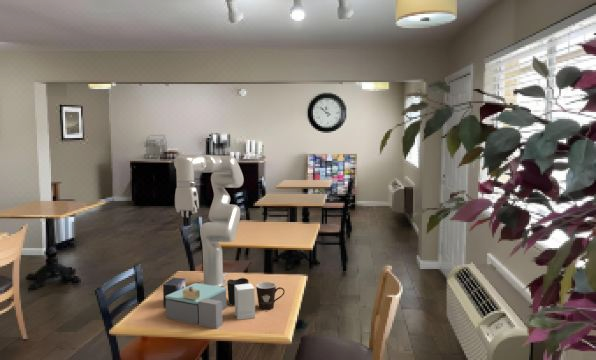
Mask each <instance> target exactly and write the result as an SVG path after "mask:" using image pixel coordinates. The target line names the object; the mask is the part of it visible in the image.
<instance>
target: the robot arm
mask: <svg viewBox="0 0 596 360" xmlns="http://www.w3.org/2000/svg"><path fill="white" fill-rule="evenodd" d="M173 165H174V168H175V169H176V172H175V173H176V188H175V194H174V207H175V211H176V212H177V213H179V214H180V215H181V218H182V222H183V223H182V224H183V227H190V226H191V225H192V220H191V218H192V217H193V215H194V214H197V213H198V210H199V208H200V204H199V203H200V201H199V194H198V189H197V187H195V186H196V185H197V182H195V173H211V176H210V182H211V187H212V190H213V199H212V203H211V205H210V208H209V213H208V220H210V221H207V222H204V223H203V224H201V226H200V228H199V234H200V239H201V246H202V267H203V269H202V270H203V275H202V276H203V280H202V281H201V282H200V284H205V285H211V286H218V287H224V286H226V285H227V281H226V280H225V278H226V277H227V276H228V273H227V272H224V270H223V269H224V267H223V248H222V245H221V243H231V242H234V239H235V238H236V234H237V231H238V229H239V223H240V220H241V209H240V207H239V206H238V205H237V204H230V202H231V196H230V193H228V191H227V190H226V189H225V188H231V189H232V188H233V189H234V188H235V189H237V188H241V187H242V186H243V185H244V182H245V181H244V175H243V172H242V169H241V167H240V165H239V163H238V161H237V159H236V157H234V156H233V155H215V154H214V155H213V154H178V155H176V157H175V158H174V161H173Z"/></svg>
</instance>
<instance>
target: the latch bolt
mask: <svg viewBox="0 0 596 360" xmlns="http://www.w3.org/2000/svg"><path fill="white" fill-rule="evenodd" d="M199 297H200V292H199V290H195V289H193V287H189V288H187V289H185V290H183V298H188V299H194V300H196V299H197V298H199Z"/></svg>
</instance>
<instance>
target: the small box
mask: <svg viewBox="0 0 596 360" xmlns="http://www.w3.org/2000/svg"><path fill="white" fill-rule="evenodd" d="M186 284H187V283H186V278H185V277H184V278H182V277H175V276H174V277H172V278H170V279H168V280H167V281H166V282H164V283H162V292H163V293H162V295H163V297H162V298H163V303H162V305H163V306H162V307H163V308H166V298H165V296H166V295H169V294H171V293H173V292H176V291H178V290H180V289H183V288H185V287H187V286H186Z"/></svg>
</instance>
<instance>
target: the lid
mask: <svg viewBox="0 0 596 360" xmlns="http://www.w3.org/2000/svg"><path fill="white" fill-rule="evenodd" d="M189 287H193V289H195V290H199V292H200V297H199V298H197V299H196V300H194V299H188V298H183V290H185V289H187V288H189ZM224 291H226V292H227V288H226V287H224V286H223V287H218V286H211V285H205V284H201V283H199V282H198V283H197V282H195V283H192V284H190V285H188V286H186V287H185V288H183V289H180V290H178V291H176V292H173V293H171V294H169V295H166V296H165V298H166V299H172V300H177V301H183V302H188V303H193V304H198V301H200V300H202V299H204V298H206V299H209V298H211V297H213V296H215V295H217V294H220V293H222V292H224Z"/></svg>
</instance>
